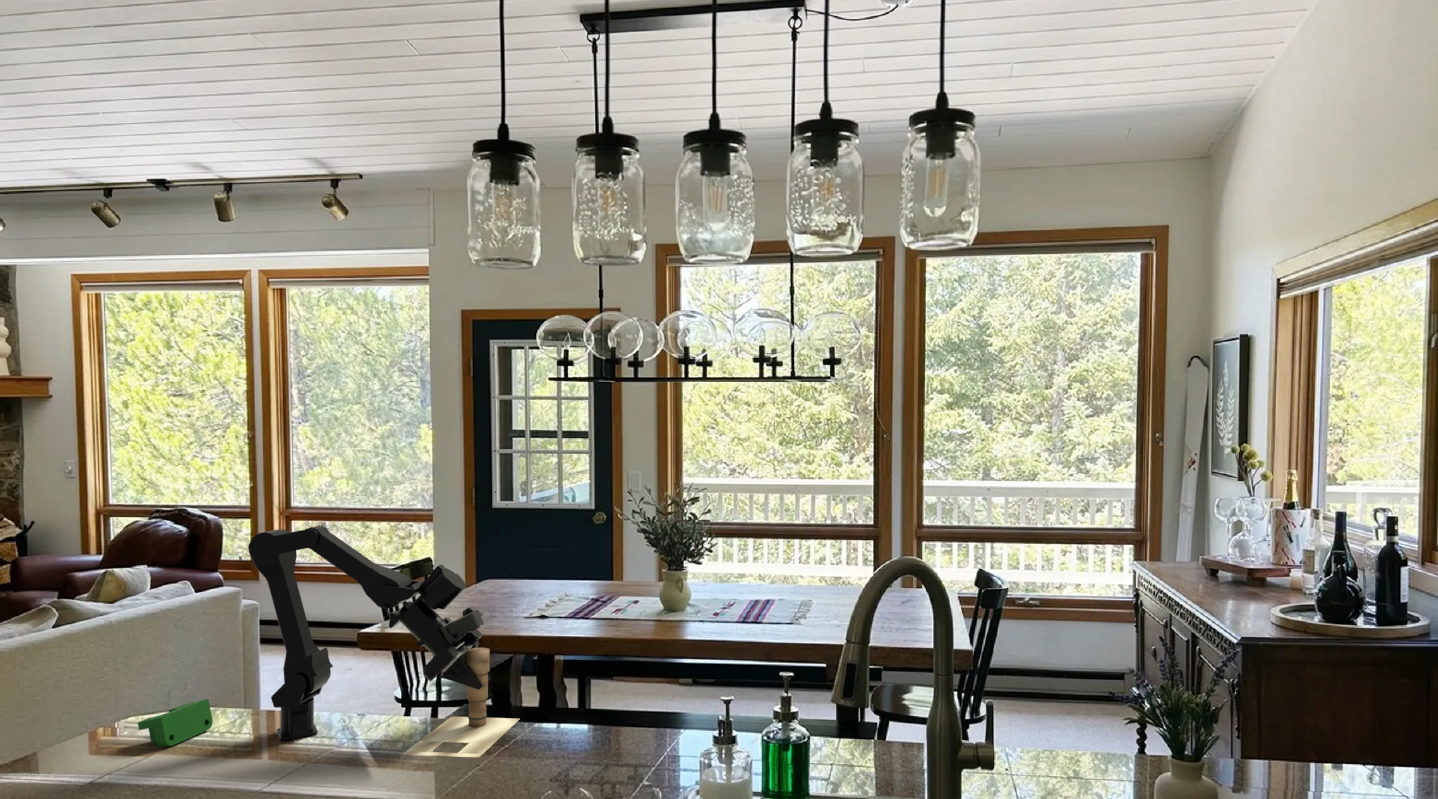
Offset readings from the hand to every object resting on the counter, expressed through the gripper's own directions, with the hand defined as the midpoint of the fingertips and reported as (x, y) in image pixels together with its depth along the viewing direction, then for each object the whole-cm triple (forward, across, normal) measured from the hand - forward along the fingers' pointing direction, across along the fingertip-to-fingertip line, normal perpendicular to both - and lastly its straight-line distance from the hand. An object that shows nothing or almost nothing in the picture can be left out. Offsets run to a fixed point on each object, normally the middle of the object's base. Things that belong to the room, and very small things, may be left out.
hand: (484, 684), depth 162 cm
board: (+5, -6, +8) cm, 11 cm away
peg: (+4, 0, +6) cm, 8 cm away
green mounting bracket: (-35, -2, +48) cm, 59 cm away
